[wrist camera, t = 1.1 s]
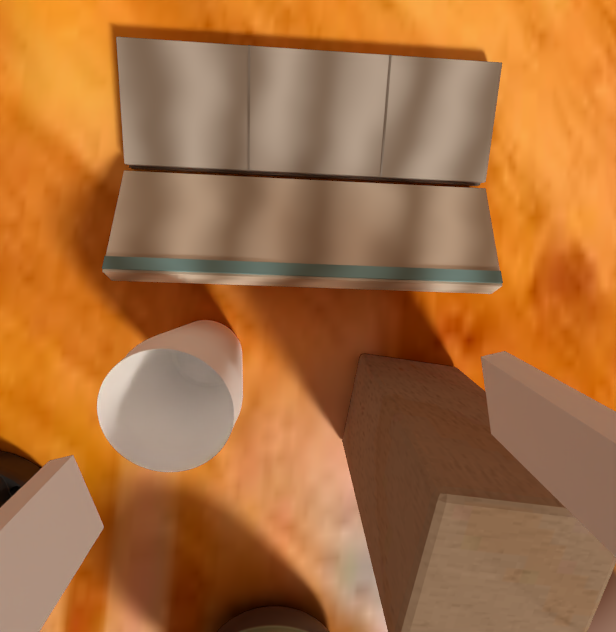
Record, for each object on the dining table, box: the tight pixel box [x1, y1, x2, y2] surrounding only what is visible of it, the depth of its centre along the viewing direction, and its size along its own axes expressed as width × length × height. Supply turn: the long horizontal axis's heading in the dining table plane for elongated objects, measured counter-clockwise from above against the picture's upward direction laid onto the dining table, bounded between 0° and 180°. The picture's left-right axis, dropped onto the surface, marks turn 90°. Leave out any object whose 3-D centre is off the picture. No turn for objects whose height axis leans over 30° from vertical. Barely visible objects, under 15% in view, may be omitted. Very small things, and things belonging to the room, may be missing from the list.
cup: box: [97, 320, 243, 472], centre depth 30 cm, size 9×9×12 cm
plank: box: [102, 171, 503, 294], centre depth 30 cm, size 30×9×2 cm
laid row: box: [116, 37, 502, 186], centre depth 31 cm, size 30×9×2 cm, turn 88°
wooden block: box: [342, 354, 616, 632], centre depth 28 cm, size 10×10×20 cm
